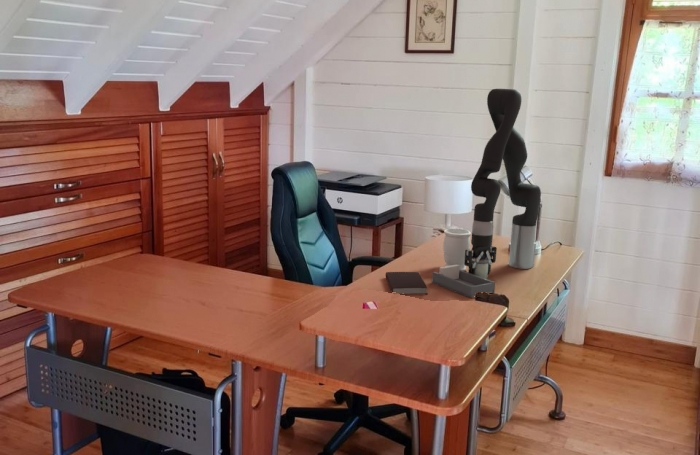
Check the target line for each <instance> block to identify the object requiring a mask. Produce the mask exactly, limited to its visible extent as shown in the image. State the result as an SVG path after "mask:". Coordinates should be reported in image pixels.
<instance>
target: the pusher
mask: <svg viewBox="0 0 700 455" xmlns="http://www.w3.org/2000/svg"><path fill="white" fill-rule="evenodd" d="M459 270H460V265H451V266H445V265H444V266H440V267H439V272H438V273H439V274H442V275H445V276H447V277H450V278H453V279H459Z"/></svg>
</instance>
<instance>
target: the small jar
mask: <svg viewBox="0 0 700 455" xmlns="http://www.w3.org/2000/svg"><path fill="white" fill-rule="evenodd" d="M474 259H475V258H474ZM472 264H473V263H472ZM488 264H489V259H487V258H485V259H482V260H479V262H478V263H477V264H476V266H475V267H474V268H475V275H476V276H479V277H482V278H485V279H488Z"/></svg>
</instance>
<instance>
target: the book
mask: <svg viewBox="0 0 700 455" xmlns="http://www.w3.org/2000/svg"><path fill="white" fill-rule="evenodd" d="M385 279H386V282H387V284H388V287H389V286H390V287H389V289H390V291H392V292H396V293H400V294H399V295H402V294H401V293H404V294H403V295H408V294H410V295H411V294H416V295H417V294H425V295H428V292H427V289H428V286H427V284H426V282H425V281H424V279H423V278H422V276H421V274H420V272H418V271H387V272H385ZM392 292H391V293H392Z"/></svg>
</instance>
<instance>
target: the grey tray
mask: <svg viewBox="0 0 700 455" xmlns="http://www.w3.org/2000/svg"><path fill="white" fill-rule="evenodd" d="M468 272H469V271H465V270H463V271H462V270H459V279H453V278H450V277H447V276H445V275H442V274H439V272H436V271H433V272H432V277H431V278H432V279H431V281H432V282H431V283H432V284H434V285H437V286H439V287H441V288H444V289H447V290H449V291H451V292H454V293H457V294H460V295H462V296H464V297H467V298H469V299H474V298H475V297H474V296H475V293H477V292H487V293H493V294H495V288H496V282H495V281H493V280H490V279H488V278H487V279H485V278H482V277H479V276H476V275H474V274H471V273H468Z"/></svg>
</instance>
